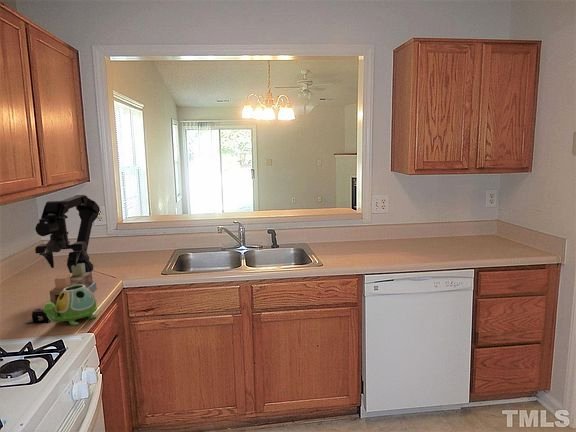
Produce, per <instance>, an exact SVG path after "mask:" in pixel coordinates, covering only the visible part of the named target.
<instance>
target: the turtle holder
mask: <svg viewBox="0 0 576 432" xmlns="http://www.w3.org/2000/svg"><path fill="white" fill-rule="evenodd" d="M70 289H74V290H70ZM42 309H43V312H44V313H46V314H47V317H48V319H49V320H50V321H52V322H51V323H60V322H68V323H69V324H70V325H71V326H78V325H79V324H80V323H79V322H78V321H76V320H80V319H83V318H86V317H88V318H87V319H90V320H91V319H92V320H93V319H96V318H97V315H96V314H94V313H95V312H96V311H97V310H98V306H97V299H96V295H94V292H93V293H92V292H91V290H89V289H88V288H86V287H85V285H81V284H79V285H74V286H70V287H67V288H64V289H63V291H62V292H61V293H60V295H59V297H58V299H57V302H56V308H55V305H54V304H53V303H52V302H51V301H50V302H46V303H45V304H44V305H43V308H42ZM55 310H56V312H55Z"/></svg>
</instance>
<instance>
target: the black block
mask: <svg viewBox="0 0 576 432" xmlns="http://www.w3.org/2000/svg"><path fill="white" fill-rule="evenodd" d="M50 323H53V322H52V321H50V320H49V319H48V317H47V314H46V313H44V312H43V308H36V309H34V310H33V311H32V312H31V318H30V319H29V320H27V321H26V322H24V323H23V325H41V324H42V325H43V324H50Z"/></svg>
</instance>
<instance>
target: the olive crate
mask: <svg viewBox="0 0 576 432" xmlns="http://www.w3.org/2000/svg"><path fill="white" fill-rule="evenodd" d="M71 268H72V273H71V276H73V275H83V274H84V273H85V272H86V270H85V263H79V264H77V265H76V267H74V265H72V266H71Z"/></svg>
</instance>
